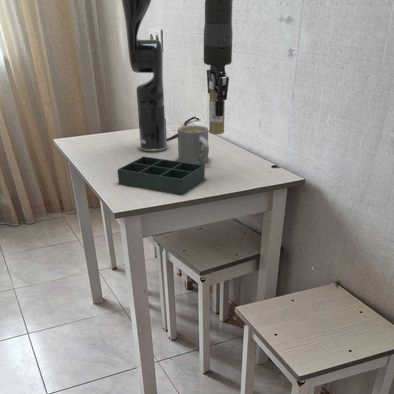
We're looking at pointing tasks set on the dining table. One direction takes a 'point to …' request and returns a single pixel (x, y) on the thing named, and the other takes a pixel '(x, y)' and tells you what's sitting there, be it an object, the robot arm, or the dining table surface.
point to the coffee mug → (193, 144)
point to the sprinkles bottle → (214, 121)
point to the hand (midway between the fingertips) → (216, 113)
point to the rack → (161, 175)
